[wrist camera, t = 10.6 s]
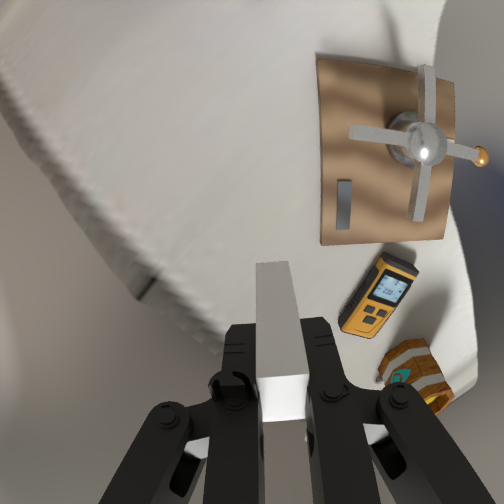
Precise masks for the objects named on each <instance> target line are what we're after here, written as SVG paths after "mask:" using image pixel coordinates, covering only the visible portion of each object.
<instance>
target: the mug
mask: <svg viewBox="0 0 504 504" xmlns="http://www.w3.org/2000/svg"><path fill="white" fill-rule="evenodd" d="M378 371H379V373H380V374H381V376H382V378H383V381H384V384H385V387H386V386H387V385H388V384H390V383H394V382H405V383H407V384H410V385H412V386H413V387H414V388H415V389H416V390H417V391H418V393H419V394H420V395H421V396H422V398H423V399H424V400H425V402H426V403H427V404H428V406H429V407H430V408H431V410H432V411H433V413H434V414H435V415H437V414H439V413H440V412H442V411H443V410H444V409H445V408H446V407H447V405H448V404H449V403H450V402H451V401H452V399H453V398H454V397H455V396H454V394H453V392H452V390H451V388H450V387H449V385H448V384H447V382H446V381H445V378H444V376H443V373H442V371H441V369H440V367H439V365H438V364H437V362H436V360H435V359H434V357H433V356H432V354H431V352H430V349H429V347H428V345H427V344H426V342H425V340H424V338H423V339H414V340H405V341H404V342H402V343H401V344H399V345H398V346H396V347H395V348H393V349H392V350H390V351H389V352H387V353H386V354H385V356H384V358H383V360H382V362H381V364H380V366H379V368H378ZM381 391H382V390H381Z"/></svg>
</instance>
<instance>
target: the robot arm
mask: <svg viewBox="0 0 504 504" xmlns="http://www.w3.org/2000/svg"><path fill="white" fill-rule="evenodd" d="M224 345H225V346H224V352H223V353H224V355H223V361H222V370H221V371H220V372H217V373H216V374H215V375H214V376H213V377H212V378H211V379H210V381H209V384H208V388H209V390H210V393H211V396H212V398H211V399H209V400H208V401H206V402H203V403H201V404H197V405H193V406H189V407H184V406H183V405H182V404H180V403H178V402H171V401H168V402H163V403H160V404H158V405H157V406H155V407H154V408H153V409H152V410H151V411H150V413H149V414H148V416H147V418H146V420H145V421H144V423H143V425H142V427H141V428H140V430H139V432H138V434H137V436H136V437H135V439H134V441H133V443H132V444H131V446H130V448H129V450H128V452H127V454H126V455H125V457H124V459H123V461H122V462H121V464H120V466H119V468H118V469H117V471H116V473H115V475H114V476H113V478H112V480H111V482H110V484H109V486H108V487H107V489H106V491H105V493H104V494H103V496H102V498H101V500H100V502H99V503H98V504H188V503H189V500H190V498H191V495H192V493H193V491H194V489H195V486H196V483H197V481H198V479H199V476H200V474H201V472H202V469H203V467H204V464H205V462H206V459H207V465H206V475H205V485H204V495H203V504H265V483H264V482H265V481H264V480H265V478H264V435H263V422H268V421H282V420H293V419H294V420H295V419H304V418H305V416H306V422H307V429H306V438H305V441H307V444H308V453H309V463H310V473H311V483H312V494H313V504H381V503H380V497H379V492H378V486H377V482H376V477H375V472H374V468H373V463H372V460H373V462H374V464H375V465H376V467H377V469H378V471H379V473H380V474H381V476H382V478H383V480H384V481H385V484H386V485H387V487H388V489H389V491H390V493H391V494H392V496H393V498H394V500H395V502H396V504H496V503H495V502H494V500H493V499H492V497H491V495H490V494H489V492H488V491H487V489H486V487H485V486H484V484H483V483H482V481H481V480H480V478H479V477H478V475H477V474H476V472H475V471H474V469H473V468H472V466H471V465H470V463H469V462H468V460H467V459H466V457H465V456H464V455H463V453H462V452H461V450H460V449H459V447H458V446H457V444H456V443H455V442H454V440H453V439H452V437H451V436H450V435H449V433H448V432H447V430H446V429H445V428H444V426H443V425H442V423H441V422H440V421H439V419H438V418H437V417H436V415H435V414H434V413H433V411H432V410H431V408H430V407H429V406H428V404H427V403H426V402H425V400H424V399H423V398H422V396H421V395H420V394H419V393H418V391H417V390H416V389H415V388H414V387H413V386H412V385H410V384H407V383H405V382H394V383H390V384H388V385H387V386H386V387H384V388H383V390H382V391H380V390H368V389H362V388H359V387H356V386H354V385H353V384H352V383H350V382H349V381H348V379H347V378H346V376H345V374H344V371H343V367H342V363H341V360H340V356H339V353H338V350H337V346H336V344H335V339H334V337H333V333H332V329H331V326H330V324H329V323H328V322H327V321H326V320H325V319H324V318H323V317H314V318H305V319H300V318H299V313H298V308H297V303H296V298H295V293H294V288H293V283H292V278H291V273H290V268H289V263H288V261H280V262H267V263H256V323H253V324H236V325H231V327H230V328H229V330H228V331H227V333H226V335H225V344H224ZM371 458H372V459H371Z"/></svg>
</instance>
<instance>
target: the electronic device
mask: <svg viewBox="0 0 504 504" xmlns="http://www.w3.org/2000/svg"><path fill="white" fill-rule="evenodd" d="M418 274H419V271H418V270H417V269H416V268H415V267H414V266H413V265H411V264H409V263H407V262H405V261H403V260H401V259H399V258H397V257H395V256H392V255H390V254H388V253H386V252H383V253H382V255H381V256H380V258H379V260H378V261H377V263H376V265H375V266H373V268H372V269H371V271H370V273H369V274H368V276H367V277H366V279H365V281H364V282H363V284H362V285H361V287H360V288H359V290H358V291H357V293H356V295H355V296H354V298H353V299H352V301H351V302H350V304H349V305H348V307H347V308H346V310H345V311H344V312H343V314H342V315H341V317H340V318H339V320H338V324H339V327H340V330H341V331H342V332H344V333H348V334H352V335H356V336H360V337H363V338H367V339H371V338H373V337H374V336H375V335H376V334H377V333H378V331H379V330H380V329H381V328H382V326H383V325H384V324H385V322H386V321H387V320H388V318H389V317H390V316H391V314H392V313H393V312H394V310H395V309H396V307H397V306H398V305H399V303H400V302H401V300H402V299H403V298H404V296H405V295H406V293H407V292H408V290H409V289H410V287H411V284H412V283H413V281H414V280H415V278H416V277H417V275H418Z"/></svg>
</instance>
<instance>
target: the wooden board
mask: <svg viewBox="0 0 504 504" xmlns="http://www.w3.org/2000/svg"><path fill="white" fill-rule="evenodd" d="M316 68H317V81H318V96H319V115H320V141H321V228H320V243H321V245H322V246H329V245H347V244H365V243H383V242H402V241H420V240H439V239H443V237H444V232H445V227H446V221H447V215H448V209H449V202H450V194H451V185H452V177H453V165H454V156H452V155H447V154H446V155H445V157H444V159H443V160H442V162H440V163H439V164H438V165H435V166H432V168H431V176H430V183H429V190H428V197H427V203H426V208H425V214H424V219H423V222H416V221H412V220H410V219H409V218H408V217H407V212H408V207H409V200H410V194H411V187H412V179H413V171H414V169H412V168H409V167H406V166H404V165H401V164H399V163H398V162H396V161H395V160H394V159H393V158H392V157H391V155H390V154H389V152H388V150H387V147H386V144H385V143H378V142H370V141H361V140H353V139H349V124H353V125H361V126H369V127H376V128H383V129H386V126H387V124H388V122H389V120H390V119H391V118H392V117H393V116H394V115H395V114H397V113H399V112H402V111H415V112H418V73H414V72H410V71H405V70H400V69H395V68H389V67H383V66H377V65H370V64H362V63H353V62H343V61H330V60H317V61H316ZM435 124H436V125H438V126H439V127H440V128H441V129H442V130H443V132H444V134H445V136H446V139H447V141H448V142H452V143H455V96H454V83H453V82H449V81H445V80H442V79H438V78H436V116H435Z"/></svg>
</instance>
